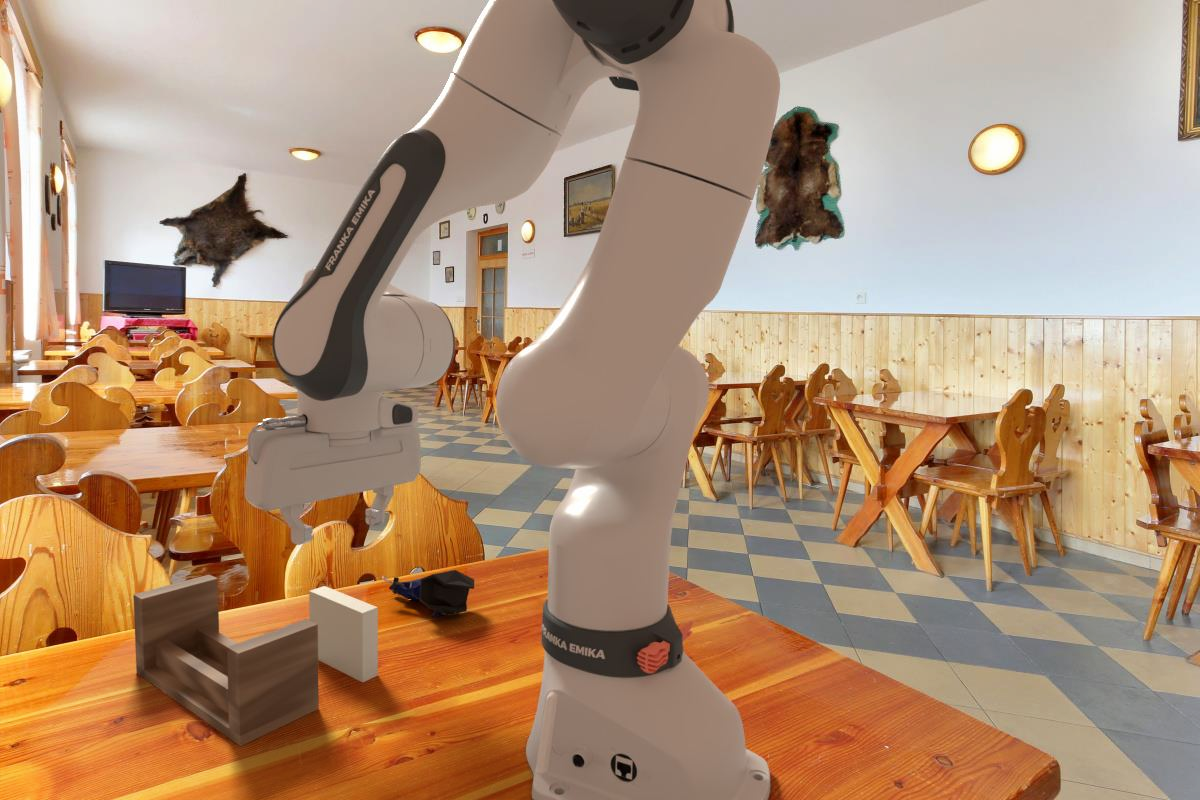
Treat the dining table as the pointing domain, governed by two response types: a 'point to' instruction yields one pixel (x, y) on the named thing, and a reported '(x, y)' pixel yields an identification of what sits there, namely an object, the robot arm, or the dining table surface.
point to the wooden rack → (224, 662)
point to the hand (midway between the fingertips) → (340, 532)
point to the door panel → (345, 632)
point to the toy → (437, 591)
